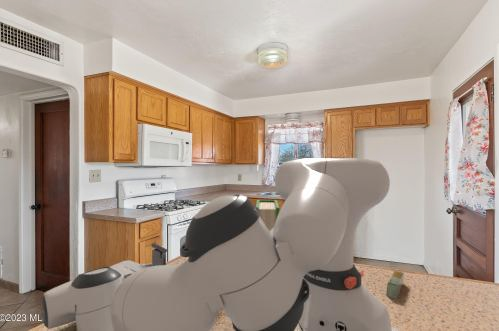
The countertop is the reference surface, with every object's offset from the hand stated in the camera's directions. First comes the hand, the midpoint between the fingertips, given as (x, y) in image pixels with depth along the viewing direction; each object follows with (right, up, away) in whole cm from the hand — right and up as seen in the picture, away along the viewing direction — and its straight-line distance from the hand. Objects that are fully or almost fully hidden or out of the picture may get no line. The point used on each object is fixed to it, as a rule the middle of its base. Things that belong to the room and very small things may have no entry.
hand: (161, 267), depth 81 cm
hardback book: (+33, -7, +13) cm, 36 cm away
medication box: (+70, -7, -1) cm, 71 cm away
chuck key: (-1, -7, -1) cm, 7 cm away
